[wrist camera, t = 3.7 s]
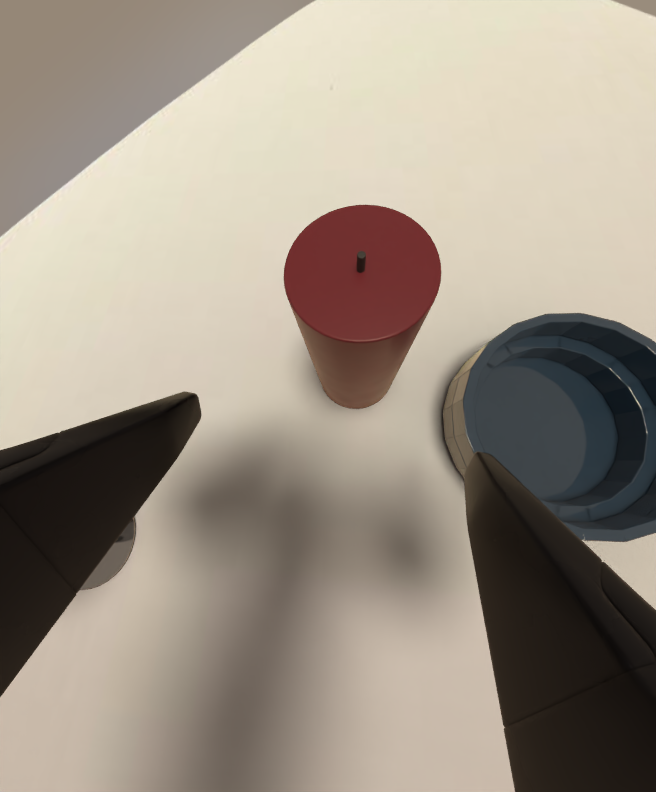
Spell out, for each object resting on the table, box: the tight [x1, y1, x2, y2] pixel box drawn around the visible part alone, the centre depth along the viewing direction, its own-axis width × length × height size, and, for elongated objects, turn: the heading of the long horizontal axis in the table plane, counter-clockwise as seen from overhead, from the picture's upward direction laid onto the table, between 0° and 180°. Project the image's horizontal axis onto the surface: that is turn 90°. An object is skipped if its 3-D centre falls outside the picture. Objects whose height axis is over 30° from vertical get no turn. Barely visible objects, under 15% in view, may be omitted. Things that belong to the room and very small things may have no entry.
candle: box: [284, 205, 441, 409], centre depth 16 cm, size 6×6×13 cm
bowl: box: [443, 313, 656, 542], centre depth 18 cm, size 13×13×4 cm
